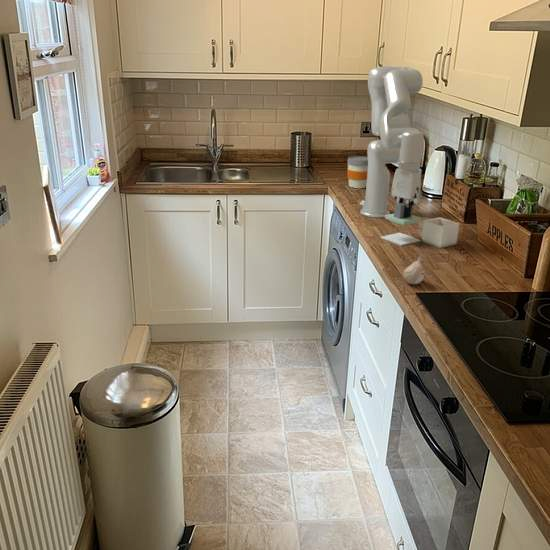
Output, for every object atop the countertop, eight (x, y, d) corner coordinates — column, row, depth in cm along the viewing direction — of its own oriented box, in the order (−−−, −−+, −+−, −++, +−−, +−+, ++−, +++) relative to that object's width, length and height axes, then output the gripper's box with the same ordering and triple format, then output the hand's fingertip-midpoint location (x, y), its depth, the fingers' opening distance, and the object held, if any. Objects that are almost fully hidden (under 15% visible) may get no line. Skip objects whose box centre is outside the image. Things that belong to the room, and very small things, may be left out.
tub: (421, 241, 210) (424, 220, 207) (437, 237, 214) (439, 217, 211) (440, 248, 203) (443, 227, 200) (456, 244, 208) (459, 223, 205)
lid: (384, 220, 209) (386, 202, 206) (401, 217, 214) (403, 199, 211) (403, 227, 202) (405, 207, 199) (420, 223, 207) (423, 204, 204)
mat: (380, 238, 212) (380, 236, 212) (399, 233, 218) (399, 232, 217) (401, 245, 204) (401, 244, 204) (420, 241, 210) (420, 239, 210)
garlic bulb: (427, 285, 170) (431, 261, 167) (409, 288, 168) (412, 263, 165) (415, 277, 176) (418, 253, 173) (397, 280, 174) (400, 256, 171)
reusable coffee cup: (343, 188, 285) (345, 159, 279) (348, 183, 296) (350, 155, 290) (367, 191, 281) (370, 161, 276) (371, 186, 292) (374, 157, 287)
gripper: (385, 163, 204) (380, 212, 211) (419, 171, 192) (413, 222, 199) (399, 161, 208) (394, 209, 215) (433, 169, 196) (427, 219, 203)
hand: (403, 215), depth 207 cm, fingers closed on lid, 2 cm apart
